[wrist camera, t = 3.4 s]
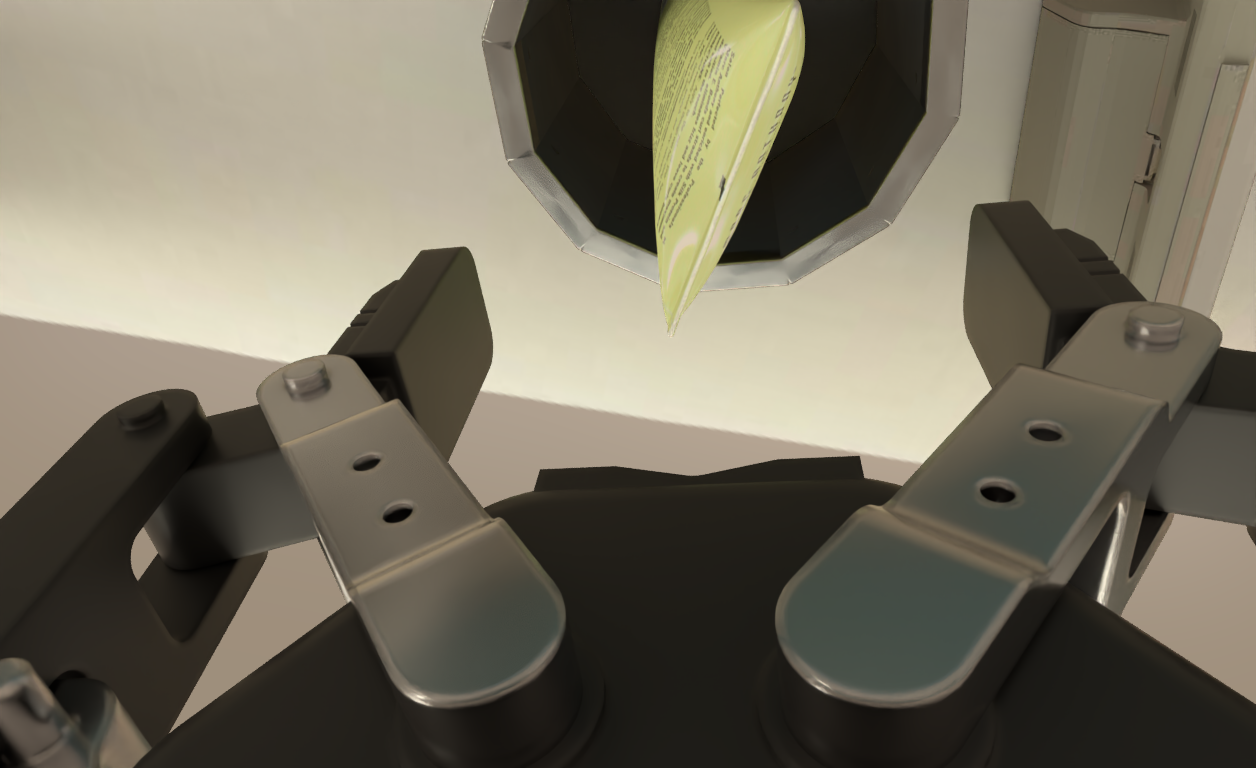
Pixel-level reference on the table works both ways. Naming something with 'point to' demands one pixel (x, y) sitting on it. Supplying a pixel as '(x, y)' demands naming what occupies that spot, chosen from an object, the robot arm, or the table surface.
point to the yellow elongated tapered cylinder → (714, 126)
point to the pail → (787, 186)
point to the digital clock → (1144, 135)
